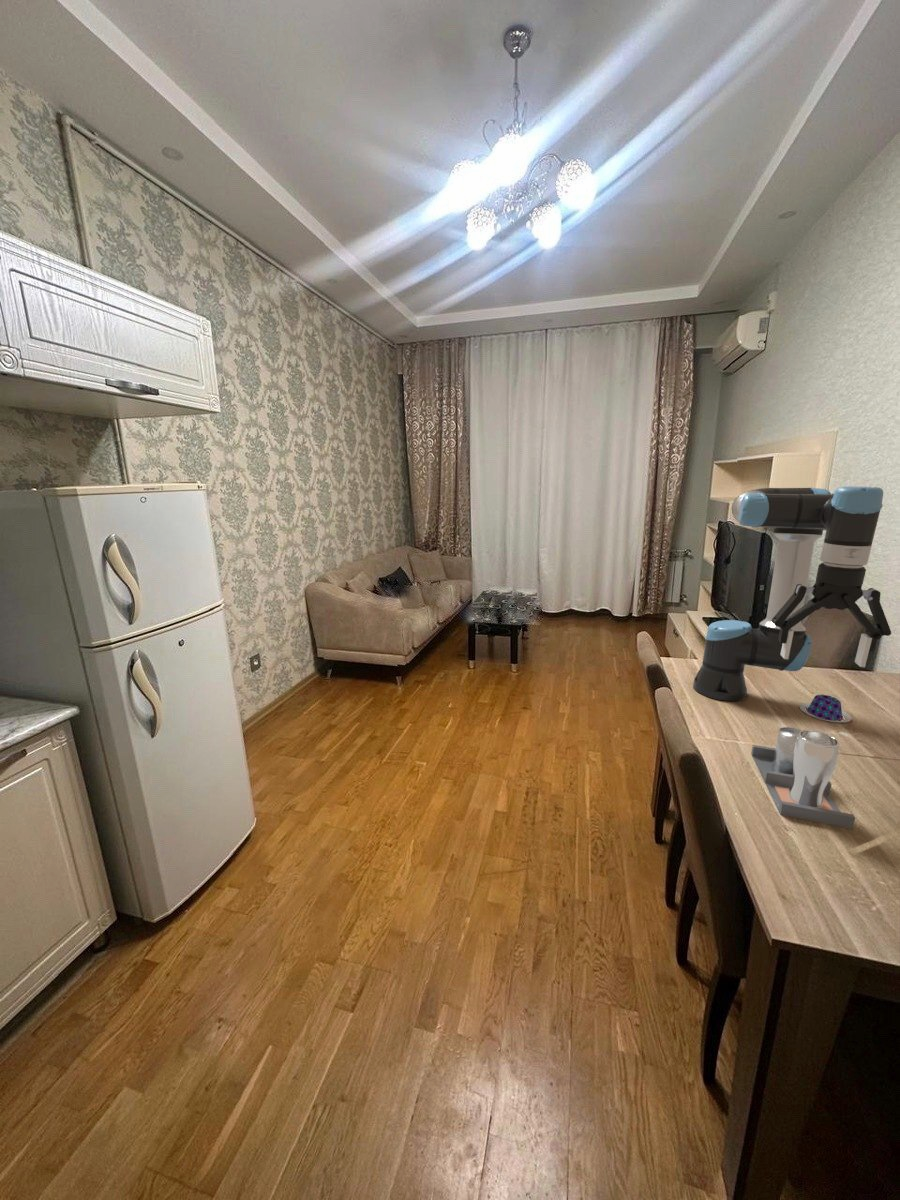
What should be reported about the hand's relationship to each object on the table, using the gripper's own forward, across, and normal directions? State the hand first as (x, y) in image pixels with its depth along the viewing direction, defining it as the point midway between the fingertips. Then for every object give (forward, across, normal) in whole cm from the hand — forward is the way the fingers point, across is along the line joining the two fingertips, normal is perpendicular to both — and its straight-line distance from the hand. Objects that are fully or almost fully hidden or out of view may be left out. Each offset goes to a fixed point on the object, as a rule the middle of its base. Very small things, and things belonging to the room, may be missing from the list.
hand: (821, 660), depth 101 cm
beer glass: (+28, -2, -12) cm, 30 cm away
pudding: (+30, +18, +38) cm, 52 cm away
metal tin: (+28, -2, -1) cm, 28 cm away
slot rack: (+28, -2, -6) cm, 29 cm away
